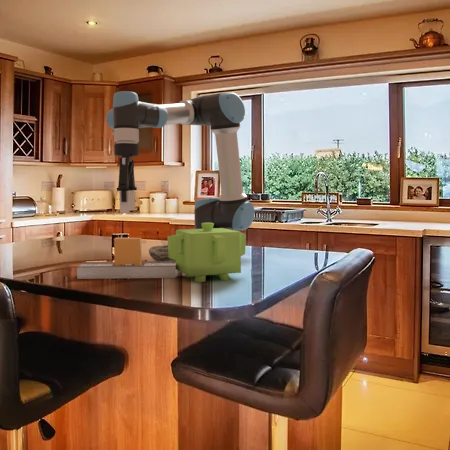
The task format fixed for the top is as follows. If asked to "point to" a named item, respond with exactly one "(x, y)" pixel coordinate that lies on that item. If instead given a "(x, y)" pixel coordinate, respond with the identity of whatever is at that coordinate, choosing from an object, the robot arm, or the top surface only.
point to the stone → (160, 254)
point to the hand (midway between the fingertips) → (127, 211)
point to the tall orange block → (127, 251)
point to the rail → (126, 270)
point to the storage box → (207, 251)
